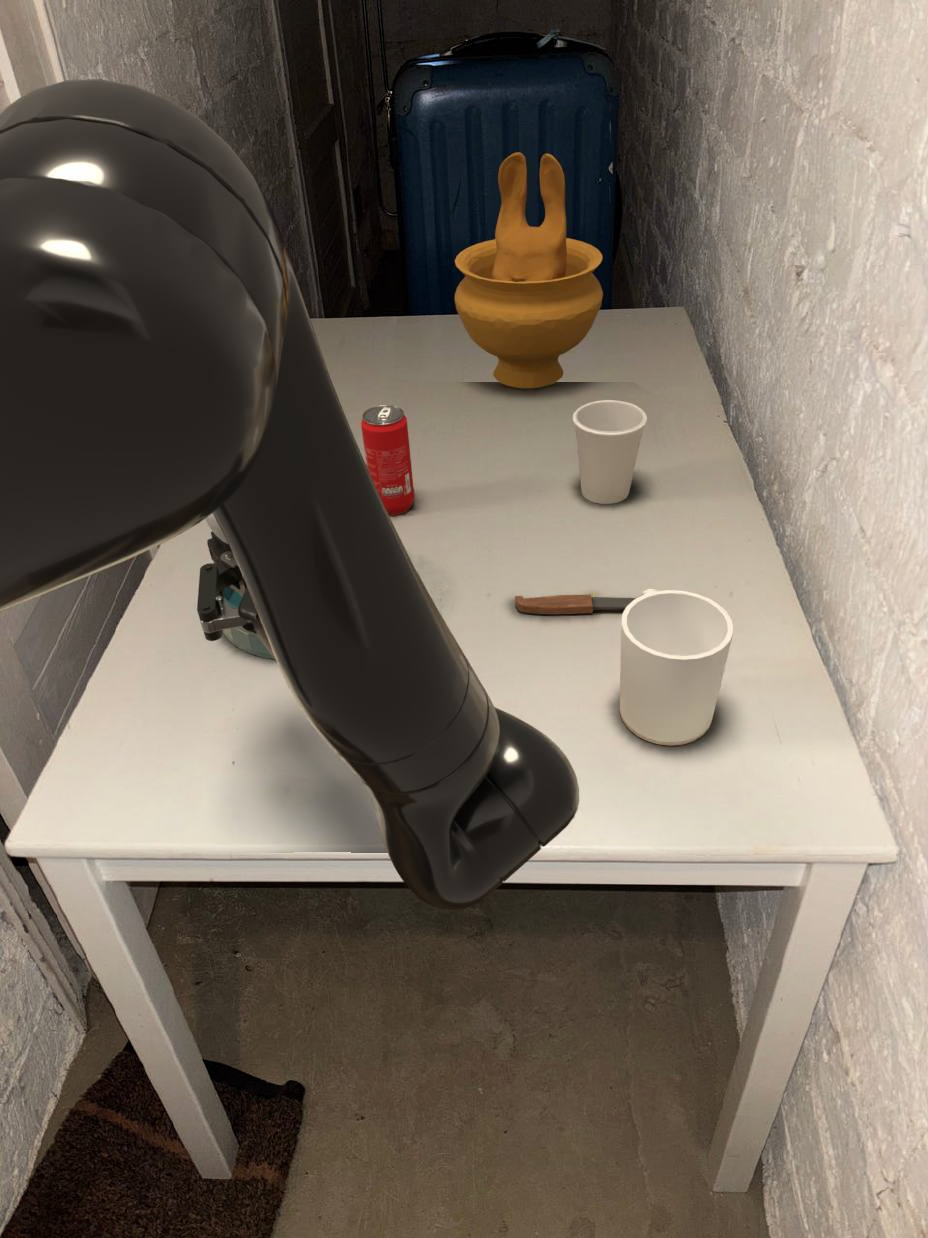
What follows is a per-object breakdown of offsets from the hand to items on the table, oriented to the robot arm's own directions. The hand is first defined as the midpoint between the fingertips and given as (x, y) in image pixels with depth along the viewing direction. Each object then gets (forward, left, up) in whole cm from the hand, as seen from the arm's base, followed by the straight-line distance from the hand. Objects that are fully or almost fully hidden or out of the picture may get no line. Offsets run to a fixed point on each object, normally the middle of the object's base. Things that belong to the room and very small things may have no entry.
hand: (241, 532), depth 71 cm
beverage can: (+21, +29, -20) cm, 41 cm away
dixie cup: (+45, +20, -20) cm, 53 cm away
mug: (+31, -14, -20) cm, 39 cm away
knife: (+33, +1, -20) cm, 38 cm away
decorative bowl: (+52, +55, -20) cm, 78 cm away
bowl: (+6, +15, -20) cm, 25 cm away
